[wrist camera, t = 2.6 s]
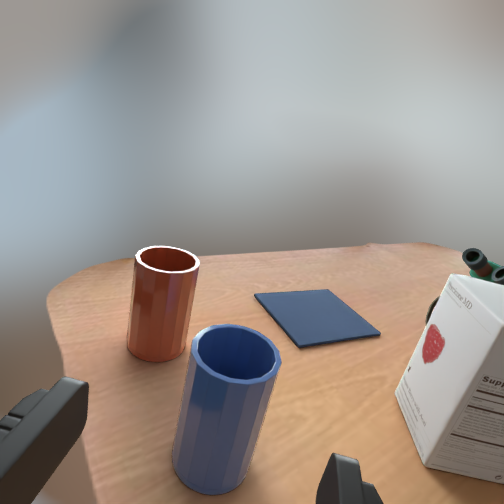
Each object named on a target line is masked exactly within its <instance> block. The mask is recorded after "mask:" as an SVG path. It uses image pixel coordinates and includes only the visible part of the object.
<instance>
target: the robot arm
mask: <svg viewBox="0 0 504 504" xmlns="http://www.w3.org/2000/svg"><path fill="white" fill-rule="evenodd" d="M88 392H89V385H88V383H87V382H84V381H80V380H77V379H73V378H70V377H66V376H65V377H62V378H61V379H60V380H59V381H58V382H57V383H56V384H55V385H54V386H53V387H52V388H51V389H50V390H49V391H48V390H44V389H40V390H38V391H36V392H34V393H32V394H30V395H29V396H27V397H25V398H23V399H22V400H21V401H20V402H19V403H18V404H17V405H16V406H15V407H14V408H13V409H12V410H11V411H10V412H9V413H8V415H5V416H4V417H3V418H2V419H1V420H0V504H31V503H32V502H33V500H34V499H35V497H36V496H37V495H38V493H39V492H40V490H41V489H42V488H43V486H44V485H45V483H46V482H47V481H48V479H49V478H50V477H51V475H52V474H53V473H54V471H55V470H56V468H57V467H58V466H59V464H60V463H61V461H62V460H63V459H64V457H65V456H66V455H67V453H68V452H69V450H70V449H71V448H72V446H73V445H74V444H75V442H76V441H77V439H78V438H79V436H80V435H81V433H82V431H83V429H84V426H85V424H86V420H87V410H88ZM316 504H383V502H382V500H381V498H380V496H379V494H378V493H377V491H376V489H375V487H374V485H373V484H370V483H367V482H363V481H362V478H361V472H360V466H359V462H358V460H357V459H353V458H350V457H346V456H343V455H339V454H336V453H332V455H331V457H330V459H329V461H328V464H327V466H326V469H325V471H324V474H323V476H322V479H321V481H320V483H319V486H318V490H317V496H316Z"/></svg>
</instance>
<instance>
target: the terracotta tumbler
mask: <svg viewBox="0 0 504 504" xmlns="http://www.w3.org/2000/svg"><path fill="white" fill-rule="evenodd" d="M199 264H200V261H199V260H198V258H197V257H196V256H195V255H193V254H191V253H190V252H188V251H185V250H182V249H179V248H174V247H168V246H153V247H147V248H144V249H142V250H140V251H138V252H137V254H136V256H135V264H134V274H133V283H132V293H131V303H130V313H129V323H128V333H127V346H128V349H129V350H130V352H131V353H132V354H133V355H134V356H136V357H138V358H140V359H142V360H145V361H150V362H164V361H169V360H172V359H174V358H176V357H178V356H179V355H180V354H181V353H182V352H183V350H184V348H185V344H186V338H187V333H188V327H189V321H190V316H191V310H192V304H193V299H194V293H195V287H196V281H197V276H198V270H199Z"/></svg>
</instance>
